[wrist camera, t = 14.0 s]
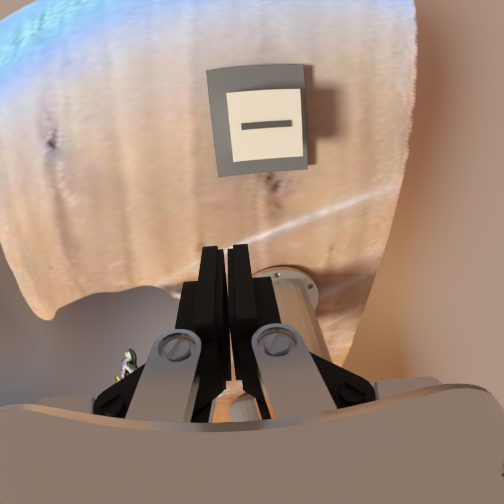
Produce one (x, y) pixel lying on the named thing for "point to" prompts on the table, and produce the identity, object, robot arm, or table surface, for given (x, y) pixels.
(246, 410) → the coffee pot
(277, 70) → the plate
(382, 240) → the table surface
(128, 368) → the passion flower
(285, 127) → the cream coin box
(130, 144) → the table surface
